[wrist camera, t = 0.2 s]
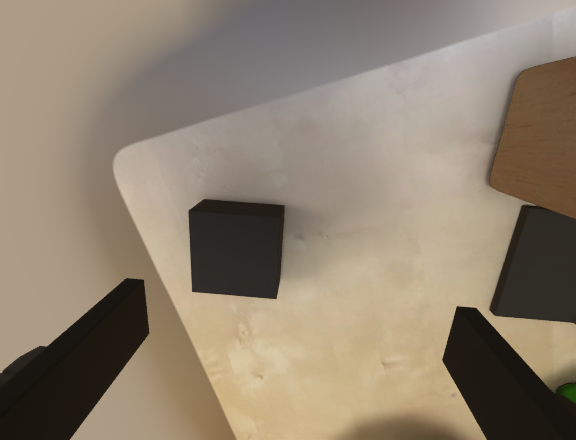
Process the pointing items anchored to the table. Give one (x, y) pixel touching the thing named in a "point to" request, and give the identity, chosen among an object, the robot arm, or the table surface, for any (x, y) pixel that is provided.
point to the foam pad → (236, 248)
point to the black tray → (539, 268)
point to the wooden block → (540, 139)
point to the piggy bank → (568, 391)
